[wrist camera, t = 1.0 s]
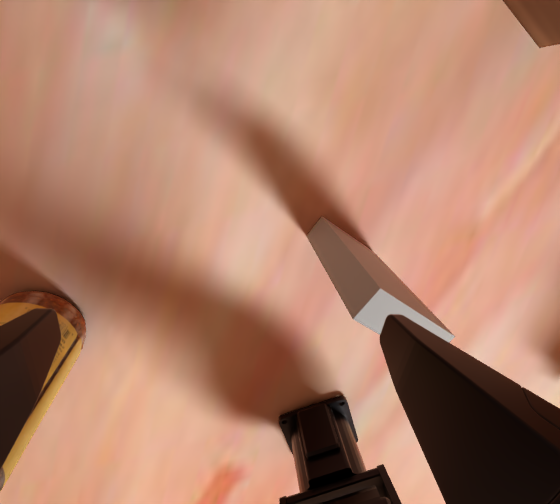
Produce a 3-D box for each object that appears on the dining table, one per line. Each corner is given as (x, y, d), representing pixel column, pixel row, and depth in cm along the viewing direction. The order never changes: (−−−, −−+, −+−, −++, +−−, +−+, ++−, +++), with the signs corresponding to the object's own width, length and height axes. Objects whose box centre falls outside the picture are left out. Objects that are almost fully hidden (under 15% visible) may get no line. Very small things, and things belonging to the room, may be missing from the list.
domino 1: (357, 269, 25) (428, 362, 16) (306, 236, 23) (352, 319, 14) (372, 251, 24) (455, 336, 15) (322, 215, 23) (380, 288, 14)
